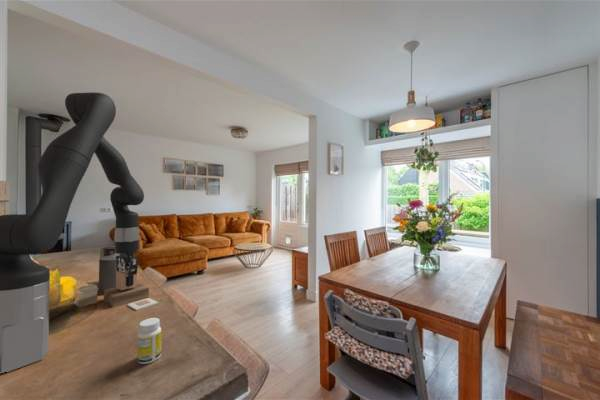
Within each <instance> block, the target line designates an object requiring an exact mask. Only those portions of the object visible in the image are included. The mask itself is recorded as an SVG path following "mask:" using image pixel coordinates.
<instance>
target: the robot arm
mask: <svg viewBox="0 0 600 400" xmlns="http://www.w3.org/2000/svg"><path fill="white" fill-rule="evenodd" d="M64 105H65V109H66V112H67V114H68V115H69V117H70V118H71V120H72V122H73V123H74V124H75V125H74V126H72V127H71V128H69V129H68V130H66V131H64V132H63V133H61V134H59V135H58V136H57V137H56V138H54V139H53V140H52V141H51V142H50V143H48V144H47V146H46V148H45V150H44V152H43V153H42V154H41V156H40V158H39V160H38V162H37V167H36V169H37V170H36V171H37V175H38V180H39V182H40V184H41V189H42V191H41V196H40V198H39V201H38V203H37V205H36V207H35V209H34V210H33V211H32V212H31V213H29V214H27V213H24V214H22V213H21V214H18V213H16V214H3V215H2V214H1V215H0V372H1V373H4V372H7V373H9V372H12V371H14V370H17V369H19V368H24V367H25V366H27V365H31V364H34V363H36V362H39V361H41V360H44V357H45V356H46V355H47V354H48V352H49V336H50V332H49V330H50V329H49V328H50V287H51V286H50V285H51V284H50V282H51V280H50V279H51V271H50V269H49V268H48V267H47V266H45V265H42V264H39V263H38V262H35V261H34V260H33V259H32V258H31V255H40V254H45V253H47V252H49V251H51V250H52V249H53V248H54V247H55V246H56V245H57V243H58V241H59V239H60V238H61V235H62V233H63V230H64V227H65V224H66V221H67V219H68V218H67V217H68V214H69V211H70V208H71V204H72V203H73V200H74V197H75V195H76V193H77V190H78V188H79V186H80V184H81V182H82V180H83V177H84V176H85V174H86V172H87V171H88V168H89V166H90V163H91V161H92V158H93V156H94V154H95V156H96V157H97V159H98V162H99V163H100V164H101V165H100V166H101V168H102V170H103V172H104V174H105V177H106V179H107V180H108V182H109V183H110V184H112V185H117V187H114V188H113V189H112V190H111V192H110V197H109V199H110V203H111V206H112V208H113V213H114V216H115V231H114V246H115V247H114V252H115V253H117V254H120V255H119V256H116V266H117V271H122V270H124V271H125V272H126V286H127V287H129V286H133V277H134V275H135V274H137V275H138V268H139V258H136V257H135V253H136V252H139V249H140V230H139V214H138V212H135V211H133V210H130V209H129V207H128V206H138V205H141V204H142V203H143V201H144V199H145V194H144V191H143V188H142V187H141V186H140V184H139V183H138V182H137V181H136V179H135V178H134V177H133V175H132V174H131V171H130V169H129V167H128V165H127V162H126V159H125V158H124V156H123V154H121V153H120V151H119V150H118V149H116V148H115V147H114V146H113V145H112V143H110V142H109V141H108V140H107V139H106V138H105V137H104V135H105V134H106V133H107V132H108V130H109V128H110V127H111V125H112V124H113V122H114V121H115V118H116V113H117V109H116V108H117V107H116V105H115V102H114V100H113V99H112V98H111V97H110V96H109V95H107V94H105V93H103V92H74V93H72V92H71V93H70V94H68V95H67V96H66V97H65V100H64ZM131 271H132V272H131ZM4 374H5V373H4Z"/></svg>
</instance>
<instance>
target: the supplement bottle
mask: <svg viewBox="0 0 600 400" xmlns="http://www.w3.org/2000/svg"><path fill="white" fill-rule="evenodd" d="M160 322H161V320H160V319H159V318H158V317H151V318H150V317H149V318H146V319H144V320H142V321H141V322H140V323H139V328H138V329H139V331H138V333H137V337H136V338H137V342H136V343H137V344H136V346H137V347H136V348H137V350H136V351H137V352H136V353H137V354H136V357H137V358H136V361H137V363H139V364H141V365H148V364H152V363H154V362H155V361H157V360H158V359H159V358H160V357H162V327H161V325H160V324H161V323H160Z"/></svg>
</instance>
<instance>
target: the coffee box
mask: <svg viewBox="0 0 600 400" xmlns="http://www.w3.org/2000/svg"><path fill="white" fill-rule="evenodd" d="M114 247H115V245H107V246H105V247H99V259H100V258H101V257H105V256H111V255H120V254H117V253H115V252H114Z"/></svg>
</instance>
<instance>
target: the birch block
mask: <svg viewBox="0 0 600 400" xmlns="http://www.w3.org/2000/svg"><path fill="white" fill-rule="evenodd" d="M78 290H79V291H80V292H84V293H83V294H82V296H81V297H80V298H79V300H78V301H77V303H76V305H77V306H78V307H77V306H76V305H75V306H76V307H77V308H79V307H80V308H83V307H86V306H85V305H87V306H89V305H88V304H91V305H93V304H92V303H94V304H97V303H98V285H97V284H94V283H90V284H86V285H85V284H84V285H81V287H80V288H79V289H78ZM96 302H97V303H96ZM82 306H83V307H82Z"/></svg>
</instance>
